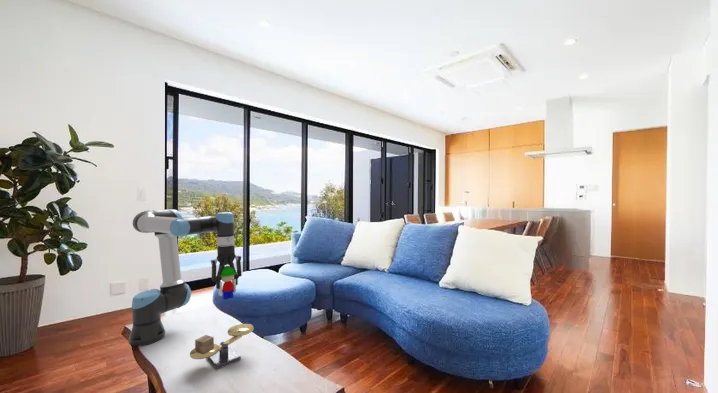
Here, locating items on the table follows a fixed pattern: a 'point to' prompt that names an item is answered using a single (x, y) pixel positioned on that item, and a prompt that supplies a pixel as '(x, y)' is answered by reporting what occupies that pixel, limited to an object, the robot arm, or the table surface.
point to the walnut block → (204, 344)
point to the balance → (225, 348)
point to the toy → (227, 282)
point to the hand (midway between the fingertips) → (227, 293)
